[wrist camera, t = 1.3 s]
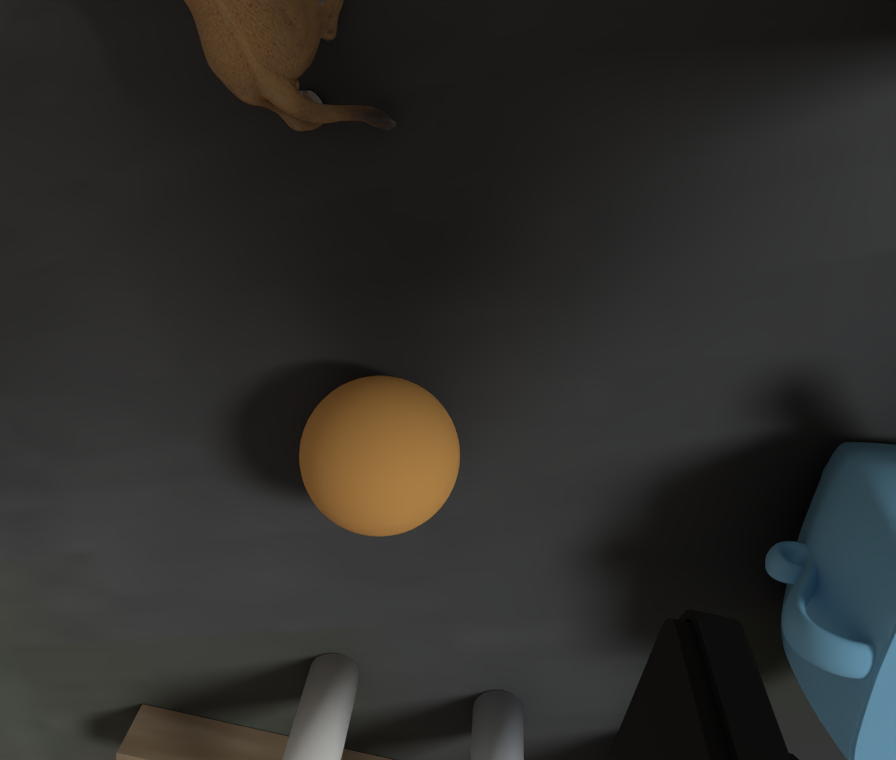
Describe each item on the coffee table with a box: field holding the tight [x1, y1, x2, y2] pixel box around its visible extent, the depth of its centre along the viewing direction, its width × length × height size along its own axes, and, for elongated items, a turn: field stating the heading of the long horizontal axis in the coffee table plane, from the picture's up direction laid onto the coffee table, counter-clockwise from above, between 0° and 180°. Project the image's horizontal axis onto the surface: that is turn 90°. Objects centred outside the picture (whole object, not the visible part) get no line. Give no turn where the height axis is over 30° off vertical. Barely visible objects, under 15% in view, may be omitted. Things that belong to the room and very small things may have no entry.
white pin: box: [282, 653, 360, 760], centre depth 37 cm, size 2×2×8 cm
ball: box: [299, 376, 460, 536], centre depth 32 cm, size 6×6×6 cm
